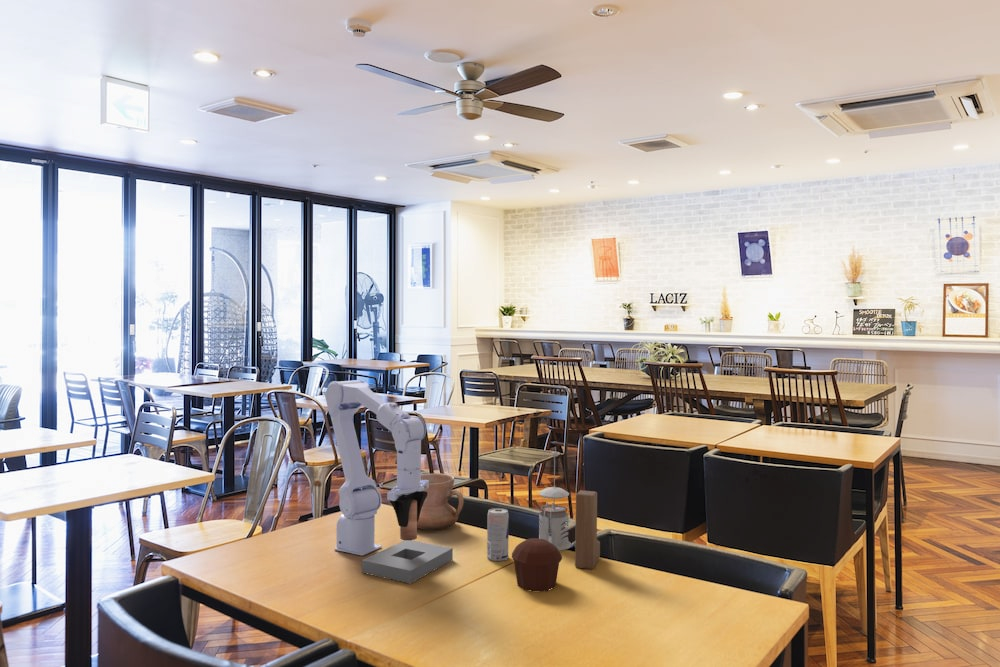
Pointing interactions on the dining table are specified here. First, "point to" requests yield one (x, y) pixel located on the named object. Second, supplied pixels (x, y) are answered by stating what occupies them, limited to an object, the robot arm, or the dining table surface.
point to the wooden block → (586, 530)
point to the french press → (554, 517)
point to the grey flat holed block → (407, 560)
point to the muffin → (536, 564)
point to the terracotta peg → (410, 524)
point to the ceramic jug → (439, 503)
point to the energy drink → (497, 534)
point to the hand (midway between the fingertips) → (408, 523)
